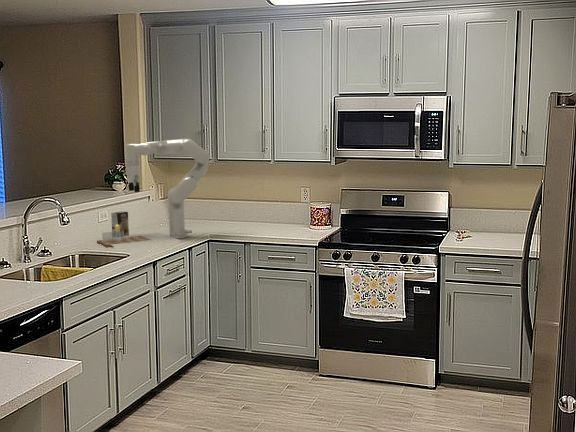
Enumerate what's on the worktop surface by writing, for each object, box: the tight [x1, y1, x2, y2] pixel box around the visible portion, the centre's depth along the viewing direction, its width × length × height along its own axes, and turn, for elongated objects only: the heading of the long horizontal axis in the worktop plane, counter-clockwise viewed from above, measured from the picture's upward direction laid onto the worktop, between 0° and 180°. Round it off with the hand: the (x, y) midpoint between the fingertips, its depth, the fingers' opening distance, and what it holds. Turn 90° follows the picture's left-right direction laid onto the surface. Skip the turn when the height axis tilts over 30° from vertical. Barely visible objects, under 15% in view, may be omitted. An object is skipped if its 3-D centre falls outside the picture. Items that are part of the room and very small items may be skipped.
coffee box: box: [111, 211, 130, 237], centre depth 464 cm, size 9×6×16 cm
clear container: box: [101, 228, 125, 243], centre depth 443 cm, size 13×13×6 cm
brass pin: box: [115, 224, 120, 232], centre depth 442 cm, size 3×3×10 cm
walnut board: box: [96, 235, 152, 248], centre depth 445 cm, size 28×19×2 cm
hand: (134, 191), depth 451 cm, fingers open, 9 cm apart
